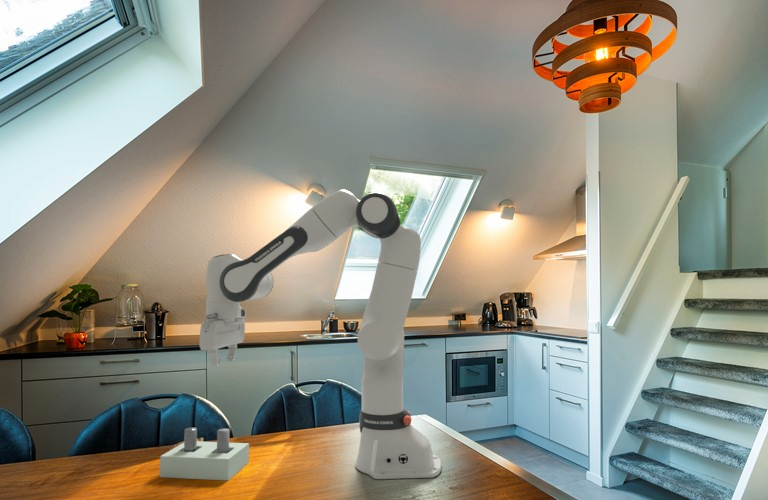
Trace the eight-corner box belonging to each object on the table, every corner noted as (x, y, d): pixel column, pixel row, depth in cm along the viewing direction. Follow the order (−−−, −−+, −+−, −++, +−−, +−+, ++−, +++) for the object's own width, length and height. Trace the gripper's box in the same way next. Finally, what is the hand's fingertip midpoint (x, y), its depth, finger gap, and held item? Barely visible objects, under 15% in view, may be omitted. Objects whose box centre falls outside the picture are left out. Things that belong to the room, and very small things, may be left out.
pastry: (167, 459, 128) (168, 444, 128) (169, 451, 134) (170, 437, 135) (204, 454, 131) (204, 440, 132) (204, 447, 138) (204, 434, 138)
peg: (198, 466, 121) (199, 427, 122) (191, 471, 118) (193, 431, 119) (187, 466, 122) (188, 427, 123) (180, 470, 119) (182, 430, 120)
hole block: (248, 462, 124) (249, 424, 125) (228, 480, 113) (229, 438, 113) (186, 459, 127) (187, 422, 128) (159, 477, 115) (161, 435, 116)
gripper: (216, 314, 118) (216, 369, 117) (248, 310, 139) (249, 357, 137) (192, 315, 119) (192, 369, 118) (228, 311, 139) (228, 358, 138)
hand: (223, 363), depth 128 cm, fingers open, 8 cm apart
